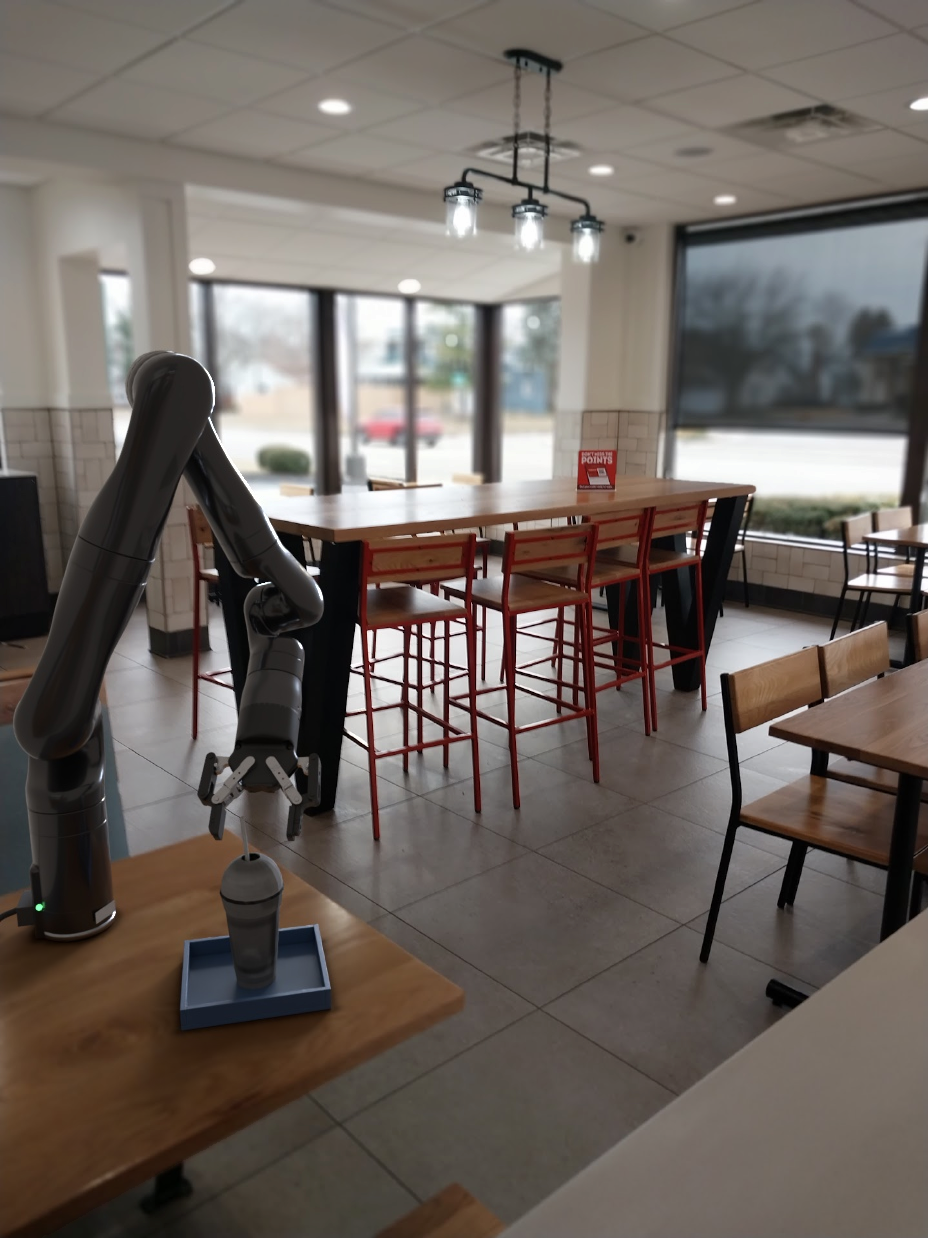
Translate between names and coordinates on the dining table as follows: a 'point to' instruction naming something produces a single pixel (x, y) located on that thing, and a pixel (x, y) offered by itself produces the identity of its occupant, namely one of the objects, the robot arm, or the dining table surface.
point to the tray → (223, 1001)
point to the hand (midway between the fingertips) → (253, 838)
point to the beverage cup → (253, 915)
